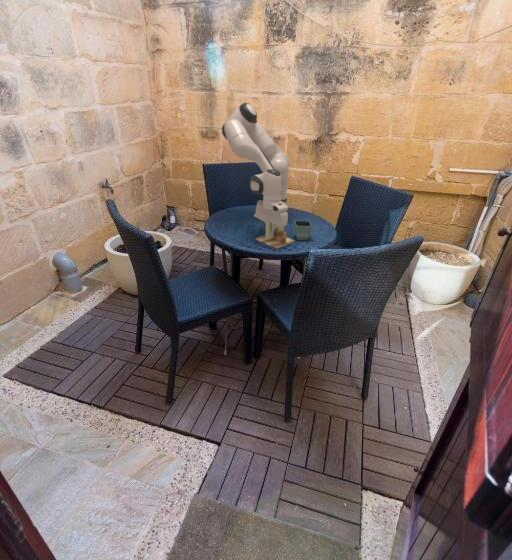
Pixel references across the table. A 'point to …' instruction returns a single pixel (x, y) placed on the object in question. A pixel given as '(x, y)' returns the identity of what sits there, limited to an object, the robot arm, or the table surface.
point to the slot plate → (268, 232)
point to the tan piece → (276, 239)
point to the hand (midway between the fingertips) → (270, 229)
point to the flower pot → (302, 229)
